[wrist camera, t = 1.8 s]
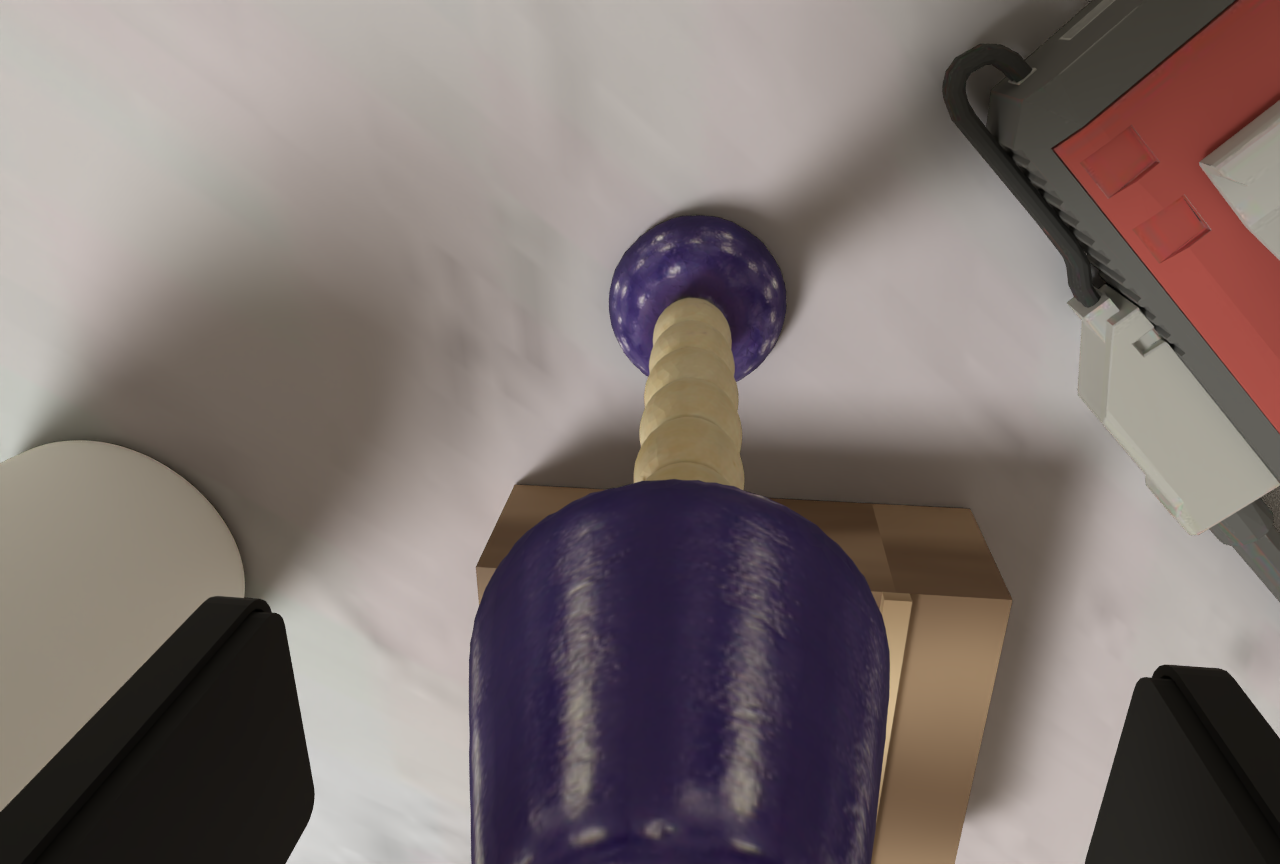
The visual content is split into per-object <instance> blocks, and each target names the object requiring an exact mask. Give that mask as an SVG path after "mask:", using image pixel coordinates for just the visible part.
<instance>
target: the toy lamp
mask: <svg viewBox="0 0 1280 864" xmlns="http://www.w3.org/2000/svg"><path fill="white" fill-rule="evenodd" d="M609 312H610V319H611V325H612V328H613V330H614V334H615V336H616V338H617V340H618V343H619V344H620V346H621V348H622V349H623V351H624V353H625V354H626V356H627V357H628V358H629V359H630V361H631V362H632V363H633V364H634V365H635V366H636V367H637V368H639V369H640V371H641V372H642V373H644V374H645V375H646V376H648V380H647V382H646V386H645V393H644V404H645V410H644V412H643V415H642V419H641V422H640V430H639V435H640V444H641V449H640V451H639V453H638V456H637V459H636V462H635V468H634V483H633V484H629V485H625V486H622V487H618V488H610V489H607V490H604V491H598V492H593V493H590V494H588V495H586V496H584V497H582V498H580V499H577V500H575V501H572V502H571V503H569V504H568V505H566V506H565V507H563V508H562V509H560V510H559V511H557V512H555V513H553V514H550V515H548V516H547V517H545V518H544V519H543V520H541V521H540V522H539V523H538V524H536V525H535V526H534V527H532V528H531V529H530V530H528V531H527V532H526V533H525V534H524V535H523V536H522V537H521V538H520V539H519V540H518V541H517V542H516V543H515V544H514V546H513V547H512V549H511V550H510V551H509V553H508V554H507V556H506V557H505V558H504V559H503V560H502V561H501V563H500V564H499V566H498V567H497V569H496V570H495V572H494V573H493V575H492V577H491V579H490V581H489V583H488V585H487V586H486V588H485V591H484V593H483V596H482V599H481V602H480V605H479V608H478V611H477V614H476V617H475V621H474V628H473V633H472V638H471V642H470V657H469V726H470V747H469V770H470V805H471V861H472V864H871V859H872V851H873V844H874V837H875V830H876V819H877V809H878V799H879V790H880V782H881V773H882V764H883V755H884V748H885V740H886V725H887V714H888V704H889V688H890V651H889V645H888V640H887V634H886V628H885V624H884V620H883V617H882V614H881V612H880V610H879V607H878V605H877V603H876V601H875V599H874V597H873V594H872V592H871V590H870V588H869V585H868V583H867V581H866V578H865V576H864V575H863V574H862V573H861V572H860V571H859V569H858V568H857V566H856V565H855V563H854V562H853V560H852V559H851V558H850V557H849V556H848V555H847V554H846V553H845V551H844V550H843V549H842V548H841V547H840V546H839V544H837V543H836V542H835V541H833V540H832V539H831V538H830V537H828V536H827V535H826V534H825V533H824V532H823V531H822V530H821V529H820V528H819V527H818V526H817V525H816V524H814V523H813V522H811V521H809V520H808V519H806V518H804V517H803V516H801V515H800V514H798V513H796V512H795V511H793V510H791V509H790V508H788V507H787V506H784V505H782V504H780V503H777V502H775V501H772V500H770V499H768V498H766V497H764V496H761V495H757V494H754V493H750V492H747V491H744V470H743V464H742V461H741V458H740V454H739V453H740V450H741V444H742V428H741V422H740V418H739V415H738V413H737V410H738V389H737V384H736V382H737V381H739V380H741V379H742V378H744V377H745V376H747V375H748V374H750V373H751V372H752V371H754V370H755V369H756V368H757V367H758V366H759V365H760V364H761V363H762V362H763V361H764V360H765V358H766V357H767V356H768V354H769V353H770V352H771V350H772V349H773V347H774V346H775V344H776V342H777V340H778V337H779V335H780V332H781V330H782V326H783V323H784V318H785V313H786V289H785V283H784V281H783V277H782V274H781V271H780V268H779V266H778V265H777V263H776V261H775V259H774V258H773V256H772V255H771V254H770V252H769V251H768V249H767V248H766V246H765V245H764V244H763V243H762V242H761V241H760V240H759V239H758V238H757V237H756V236H754V235H753V234H751V233H750V232H749V231H747V230H746V229H744V228H742V227H740V226H738V225H737V224H735V223H733V222H731V221H728V220H725V219H722V218H717V217H713V216H703V215H696V216H681V217H676V218H673V219H670V220H668V221H666V222H663V223H661V224H659V225H656V226H655V227H654V228H653V229H650V230H649V231H647V232H646V233H645V234H643V235H642V236H640V237H639V238H638V240H637V241H636V242H635V243H634V244H633V245H632V246H631V247H630V248H629V249H628V250H627V251H626V252H625V254H624V255H623V257H622V259H621V260H620V262H619V264H618V265H617V267H616V269H615V272H614V275H613V279H612V283H611V288H610V292H609Z"/></svg>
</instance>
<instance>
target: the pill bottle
mask: <svg viewBox="0 0 1280 864" xmlns="http://www.w3.org/2000/svg"><path fill="white" fill-rule="evenodd" d="M244 595H245V577H244V569H243V564H242V560H241V556H240V553H239V550H238V548H237V545H236V543H235V540H234V538H233V536H232V534H231V532H230V531H229V529H228V527H227V525H226V524H225V522H224V521H223V519H222V518H221V516H220V515H219V514H218V512H217V511H216V510H215V508H214V507H213V506H212V505H211V504H210V502H209V501H208V500H207V499H206V498H205V497H204V496H203V495H202V494H201V493H200V492H199V491H198V490H197V489H196V488H195V487H194V486H192V485H191V484H190V483H189V482H188V481H187V480H185V479H184V478H183V477H181V476H180V475H179V474H177V473H176V472H174V471H173V470H171V469H170V468H168V467H167V466H165V465H163V464H162V463H160V462H158V461H156V460H154V459H152V458H150V457H148V456H146V455H144V454H141V453H139V452H137V451H134V450H131V449H128V448H125V447H122V446H118V445H114V444H110V443H104V442H97V441H85V440H71V441H60V442H54V443H49V444H45V445H41V446H38V447H35V448H32V449H30V450H27V451H25V452H23V453H21V454H19V455H17V456H14V457H12V458H9V459H7V460H5V461H4V462H2V463H0V812H1V811H2V810H3V809H4V808H5V807H6V806H7V805H8V804H9V803H10V801H11V800H12V799H13V798H14V797H15V796H16V795H17V794H18V793H19V792H20V791H21V790H22V789H23V788H24V787H25V786H26V785H27V784H28V783H29V782H30V781H31V780H32V779H33V778H34V777H35V776H36V775H37V774H38V773H39V772H40V770H41V769H42V768H43V767H44V766H45V765H46V764H47V763H48V762H49V761H50V760H51V759H52V758H53V757H54V756H55V755H56V754H57V753H58V752H59V751H60V750H61V749H62V748H63V747H64V746H65V745H66V744H67V743H68V742H69V741H70V739H71V738H72V737H73V736H74V735H75V734H76V733H77V732H78V731H79V730H80V729H81V728H82V727H83V726H84V725H85V724H86V723H87V722H88V721H89V720H90V719H91V718H92V717H93V716H94V715H95V714H96V713H97V712H98V711H99V710H100V708H101V707H102V706H103V705H104V704H105V703H106V702H107V701H108V700H109V699H110V698H111V697H112V696H113V695H114V694H115V693H116V692H117V691H118V690H119V689H120V688H121V687H122V686H123V685H124V684H125V683H126V682H127V681H128V680H129V679H130V677H131V676H132V675H133V674H134V673H135V672H136V671H137V670H138V669H139V668H140V667H141V666H142V665H143V664H144V663H145V662H146V661H147V660H148V659H149V658H150V657H151V656H152V655H153V654H154V653H155V652H156V651H157V650H158V649H159V648H160V646H161V645H162V644H163V643H164V642H165V641H166V640H167V639H168V638H169V637H170V636H171V635H172V634H173V633H174V632H175V631H176V630H177V629H178V628H179V627H180V626H181V625H182V624H183V623H184V622H185V621H186V620H187V619H188V618H189V617H190V615H191V614H192V613H193V612H194V611H195V610H196V609H197V608H198V607H199V606H200V605H201V604H202V603H203V602H204V601H206V600H207V599H208V598H210V597H214V596H225V597H239V598H244Z"/></svg>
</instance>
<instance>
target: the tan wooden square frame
mask: <svg viewBox="0 0 1280 864" xmlns="http://www.w3.org/2000/svg"><path fill="white" fill-rule="evenodd" d="M604 490H606V489H588V488H569V487H550V486H531V485H514V487H513V490H512V492H511V494H510V496H509V498H508V500H507V502H506V504H505V507H504V509H503V511H502V513H501V515H500V517H499V519H498V521H497V523H496V526H495V528H494V530H493V532H492V534H491V536H490V538H489V540H488V542H487V545H486V547H485V549H484V551H483V553H482V555H481V557H480V559H479V562H478V564H477V566H476V574H477V585H478V597H479V605H480V602H481V599H482V596H483V593H484V591H485V588H486V586H487V585H488V583H489V581H490V579H491V577H492V575H493V573H494V572H495V570H496V569H497V567H498V566H499V564H500V563H501V561H502V560H503V559H504V558H505V557H506V556H507V554H508V553H509V551H510V550H511V549H512V547H513V546H514V544H515V543H516V542H517V541H518V540H519V539H520V538H521V537H522V536H523V535H524V534H525V533H526V532H527V531H528V530H530V529H531V528H532V527H534V526H535V525H536V524H538V523H539V522H540V521H541V520H543V519H544V518H545V517H547V516H548V515H550V514H553V513H555V512H557V511H559V510H560V509H562V508H563V507H565V506H566V505H568V504H569V503H571V502H572V501H575V500H577V499H580V498H582V497H584V496H586V495H588V494H590V493H593V492H598V491H604ZM768 499H770V500H772V501H775V502H777V503H780V504H782V505H784V506H787V507H788V508H790V509H791V510H793V511H795V512H796V513H798V514H800V515H801V516H803V517H804V518H806V519H808V520H809V521H811V522H813V523H814V524H816V525H817V526H818V527H819V528H820V529H821V530H822V531H823V532H824V533H825V534H826V535H827V536H828V537H830V538H831V539H832V540H833V541H835V542H836V543H837V544H839V546H840V547H841V548H842V549H843V550H844V551H845V553H846V554H847V555H848V556H849V557H850V558H851V559H852V560H853V562H854V563H855V565H856V566H857V568H858V569H859V571H860V572H861V573H862V574H863V575H864V576H865V578H866V581H867V583H868V585H869V588H870V590H871V592H872V594H873V597H874V599H875V601H876V603H877V605H878V607H879V610H880V612H881V614H882V617H883V620H884V624H885V628H886V634H887V640H888V645H889V651H890V688H889V704H888V714H887V725H886V740H885V748H884V755H883V764H882V773H881V782H880V790H879V799H878V809H877V819H876V830H875V837H874V844H873V851H872V859H871V864H955V859H956V855H957V850H958V846H959V841H960V837H961V832H962V828H963V823H964V818H965V814H966V809H967V805H968V800H969V796H970V791H971V787H972V782H973V778H974V773H975V768H976V764H977V759H978V755H979V750H980V746H981V741H982V737H983V732H984V728H985V723H986V718H987V714H988V709H989V705H990V700H991V696H992V691H993V687H994V682H995V678H996V673H997V668H998V664H999V659H1000V655H1001V650H1002V646H1003V641H1004V637H1005V632H1006V628H1007V623H1008V618H1009V614H1010V609H1011V605H1012V598H1011V596H1010V593H1009V591H1008V589H1007V587H1006V585H1005V583H1004V581H1003V578H1002V576H1001V574H1000V572H999V570H998V568H997V565H996V563H995V561H994V559H993V557H992V555H991V553H990V550H989V548H988V546H987V544H986V542H985V540H984V538H983V535H982V533H981V531H980V529H979V527H978V525H977V522H976V520H975V518H974V516H973V514H972V512H971V510H970V509H963V508H944V507H926V506H907V505H888V504H869V503H851V502H832V501H813V500H794V499H775V498H768Z"/></svg>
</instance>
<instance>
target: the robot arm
mask: <svg viewBox="0 0 1280 864" xmlns="http://www.w3.org/2000/svg"><path fill="white" fill-rule="evenodd" d="M314 795H315V794H314V785H313V779H312V774H311V768H310V762H309V757H308V751H307V746H306V740H305V735H304V729H303V724H302V718H301V712H300V707H299V701H298V696H297V690H296V685H295V679H294V674H293V668H292V662H291V657H290V651H289V646H288V640H287V635H286V629H285V624H284V621H283V618H282V617H281V616H280V615H279V614H277V613H272V612H271V609H270V606H269V605H268V604H267V602H266V601H264V600H261V599H253V598H239V597H225V596H214V597H210V598H208V599H207V600H206V601H204V602H203V603H202V604H201V605H200V606H199V607H198V608H197V609H196V610H195V611H194V612H193V613H192V614H191V615H190V617H189V618H188V619H187V620H186V621H185V622H184V623H183V624H182V625H181V626H180V627H179V628H178V629H177V630H176V631H175V632H174V633H173V634H172V635H171V636H170V637H169V638H168V639H167V640H166V641H165V642H164V643H163V644H162V645H161V646H160V648H159V649H158V650H157V651H156V652H155V653H154V654H153V655H152V656H151V657H150V658H149V659H148V660H147V661H146V662H145V663H144V664H143V665H142V666H141V667H140V668H139V669H138V670H137V671H136V672H135V673H134V674H133V675H132V676H131V677H130V679H129V680H128V681H127V682H126V683H125V684H124V685H123V686H122V687H121V688H120V689H119V690H118V691H117V692H116V693H115V694H114V695H113V696H112V697H111V698H110V699H109V700H108V701H107V702H106V703H105V704H104V705H103V706H102V707H101V708H100V710H99V711H98V712H97V713H96V714H95V715H94V716H93V717H92V718H91V719H90V720H89V721H88V722H87V723H86V724H85V725H84V726H83V727H82V728H81V729H80V730H79V731H78V732H77V733H76V734H75V735H74V736H73V737H72V738H71V739H70V741H69V742H68V743H67V744H66V745H65V746H64V747H63V748H62V749H61V750H60V751H59V752H58V753H57V754H56V755H55V756H54V757H53V758H52V759H51V760H50V761H49V762H48V763H47V764H46V765H45V766H44V767H43V768H42V769H41V770H40V772H39V773H38V774H37V775H36V776H35V777H34V778H33V779H32V780H31V781H30V782H29V783H28V784H27V785H26V786H25V787H24V788H23V789H22V790H21V791H20V792H19V793H18V794H17V795H16V796H15V797H14V798H13V799H12V800H11V801H10V803H9V804H8V805H7V806H6V807H5V808H4V809H3V810H2V811H1V812H0V864H285V863H286V862H287V860H288V858H289V856H290V854H291V853H292V851H293V849H294V847H295V845H296V844H297V842H298V840H299V838H300V837H301V835H302V833H303V831H304V829H305V828H306V826H307V824H308V821H309V819H310V816H311V813H312V810H313V805H314ZM1085 864H1280V738H1279V737H1278V736H1277V734H1276V733H1275V732H1274V730H1273V729H1272V728H1271V726H1270V725H1269V724H1268V723H1267V721H1266V720H1265V719H1264V717H1263V716H1262V715H1261V713H1260V712H1259V711H1258V709H1257V708H1256V707H1255V706H1254V704H1253V703H1252V702H1251V700H1250V699H1249V698H1248V696H1247V695H1246V694H1245V692H1244V691H1243V690H1242V688H1241V687H1240V686H1239V685H1238V683H1237V682H1236V681H1235V679H1234V678H1233V677H1232V676H1231V675H1230V674H1229V673H1228V672H1227V671H1225V670H1222V669H1219V668H1205V667H1191V666H1177V665H1162V666H1159V667H1158V668H1157V669H1156V671H1155V672H1154V674H1153V676H1152V678H1148V677H1144V678H1141V679H1140V680H1139V681H1138V682H1137V684H1136V686H1135V688H1134V692H1133V695H1132V699H1131V702H1130V706H1129V709H1128V713H1127V716H1126V720H1125V723H1124V727H1123V730H1122V734H1121V737H1120V741H1119V744H1118V748H1117V751H1116V755H1115V758H1114V762H1113V765H1112V769H1111V772H1110V776H1109V779H1108V783H1107V786H1106V790H1105V793H1104V797H1103V800H1102V804H1101V807H1100V811H1099V814H1098V818H1097V821H1096V825H1095V828H1094V832H1093V836H1092V839H1091V843H1090V846H1089V850H1088V853H1087V857H1086V860H1085Z"/></svg>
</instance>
